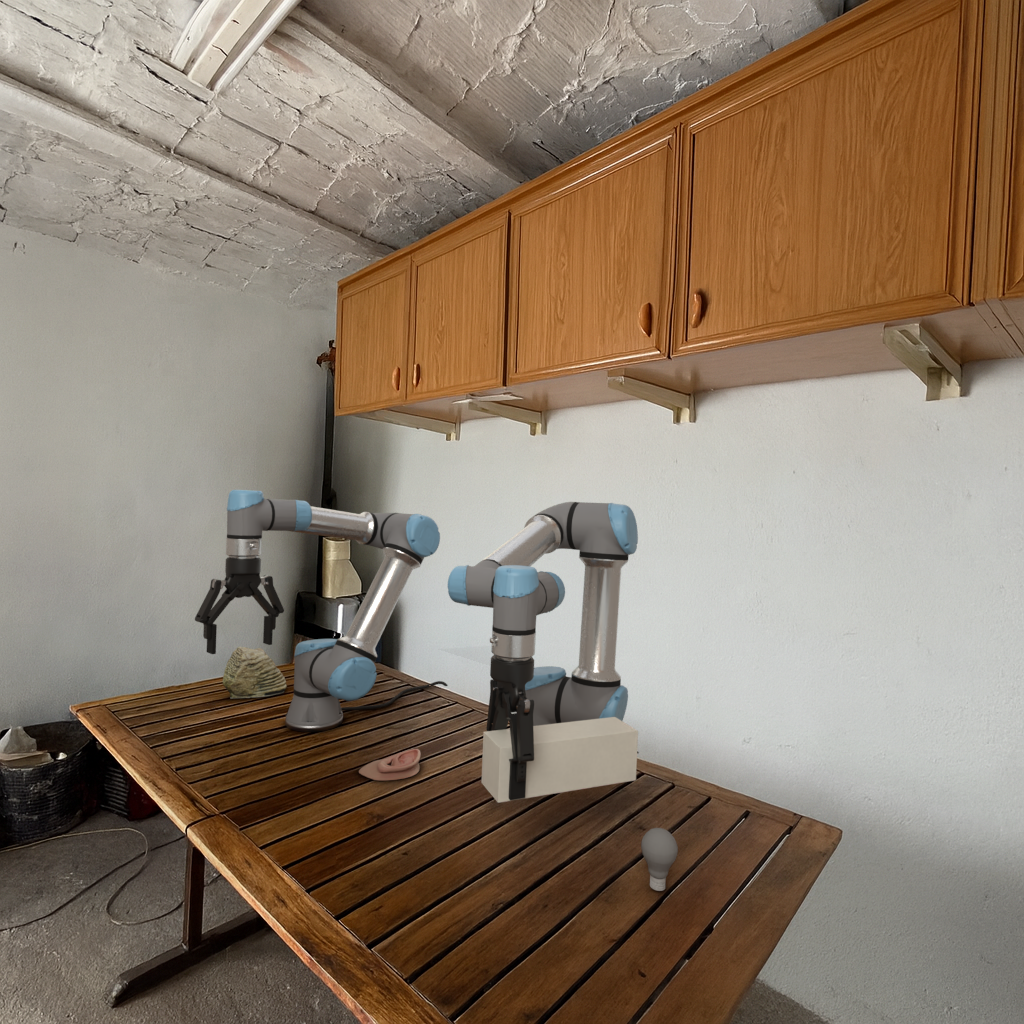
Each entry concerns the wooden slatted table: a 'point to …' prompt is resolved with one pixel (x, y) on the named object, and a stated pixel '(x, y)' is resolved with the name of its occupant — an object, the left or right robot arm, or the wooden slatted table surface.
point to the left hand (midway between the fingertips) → (240, 648)
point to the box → (564, 757)
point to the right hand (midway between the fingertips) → (506, 786)
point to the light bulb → (659, 855)
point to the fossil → (252, 674)
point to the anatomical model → (393, 766)
